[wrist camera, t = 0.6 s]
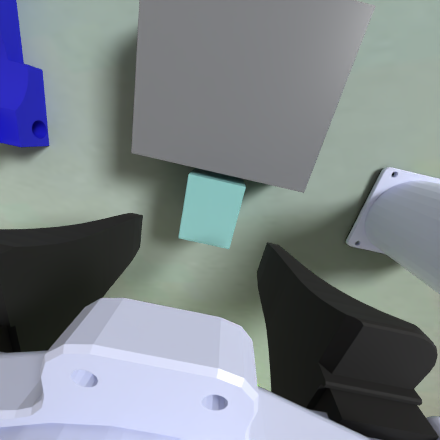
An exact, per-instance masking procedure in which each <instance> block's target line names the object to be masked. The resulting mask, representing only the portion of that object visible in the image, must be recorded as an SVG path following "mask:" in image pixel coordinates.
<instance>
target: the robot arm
mask: <svg viewBox="0 0 440 440" xmlns="http://www.w3.org/2000/svg"><path fill="white" fill-rule="evenodd" d="M393 172H394V175H393V176H391V175H392V173H393ZM142 218H143V215H139V214H134V213H127V214H122V215H118V216H114V217H109V218H105V219H101V220H96V221H91V222H87V223H82V224H76V225H69V226H61V227H52V228H37V229H0V440H440V416H431V417H427V418H426V417H425V416H424V415H423V413H422V412H421V410H420V409H419V407H418V406H417V405H421V404H422V399H421V398H420V397H419V395H418V394H417V393H416V391H415V390H414V388H415V387H416V386H417V385H418V384H419V383H420V382H421V381H422V380H423V379H424V377H425V376H426V375H427V374H428V373H429V372H430V371H431V369H432V368H433V367H434V365H435V363H436V359H437V348H436V346H435V345H434V343H433V342H432V341H431V340H430V339H429V338H428V337H427V336H426V335H425V334H424V333H423V332H422V331H421V330H420V329H419V328H418V327H417V326H416V325H414V324H411V323H409V322H406V321H404V320H401V319H399V318H396V317H394V316H391V315H389V314H386V313H384V312H382V311H379V310H377V309H375V308H373V307H371V306H369V305H366V304H364V303H362V302H360V301H358V300H356V299H354V298H352V297H351V296H349V295H347V294H345V293H343V292H341V291H340V290H338V289H336V288H335V287H333V286H331V285H330V284H328V283H327V282H325V281H324V280H322V279H321V278H319V277H318V276H316V275H315V274H314V273H312V272H311V271H310V270H308V269H307V268H306V267H305V266H303V265H302V264H301V263H300V262H298V261H297V260H296V259H295V258H294V257H293V256H291V255H290V254H289V253H288V252H287V251H285V250H284V249H283V248H282V247H280V246H279V245H276V244H271V243H267V245H266V248H265V250H264V253H263V256H262V259H261V262H260V265H259V268H258V271H257V280H258V289H259V294H260V299H261V304H262V308H263V313H264V318H265V323H266V329H267V338H268V348H269V360H270V374H271V392H270V391H268V390H266V389H264V388H262V387H259V386H258V385H257V377H256V368H255V359H254V350H253V341H252V339H251V338H250V337H249V335H248V334H247V333H246V331H245V330H244V329H243V328H242V326H240V325H238V324H235V323H233V322H231V321H228V320H226V319H224V318H221V317H217V316H212V315H207V314H202V313H197V312H192V311H187V310H183V309H178V308H173V307H168V306H163V305H158V304H153V303H148V302H143V301H138V300H133V299H128V298H103V296H104V295H105V294H106V292H107V291H108V290H109V288H110V287H111V286H112V285H113V284H114V282H115V281H116V280H117V279H118V277H119V276H120V275H121V274H122V273H123V271H124V270H125V269H126V268H127V266H128V265H129V264H130V263H131V261H132V260H133V258H134V257H135V255H136V253H137V252H138V250H139V248H140V242H141V230H142ZM357 241H358V243H356V244H355V242H357ZM346 243H347V244H348V245H349V246H352V247H356V248H361V249H365V250H370V251H374V252H379V253H383V254H386V255H388V256H389V257H390V258H392V259H393V260H394V261H396V262H397V263H398V264H400V265H401V266H402V267H404V268H405V269H406V270H408V271H409V272H411V273H412V274H413V275H415V276H416V277H417V278H419V279H420V280H421V281H423V282H424V283H425V284H427V285H428V286H429V287H431V288H432V289H433V290H435V291H436V292H437V293H439V294H440V179H438V178H434V177H430V176H425V175H421V174H417V173H413V172H409V171H404V170H400V169H396V168H392V167H386V168H384V169H383V170H382V171H381V173H380V175H379V177H378V179H377V181H376V183H375V185H374V187H373V188H372V190H371V192H370V194H369V196H368V198H367V200H366V202H365V204H364V206H363V208H362V210H361V212H360V214H359V216H358V218H357V220H356V222H355V224H354V226H353V228H352V230H351V232H350V234H349V236H348V238H347V240H346Z"/></svg>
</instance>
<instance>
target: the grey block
mask: <svg viewBox="0 0 440 440" xmlns="http://www.w3.org/2000/svg"><path fill="white" fill-rule="evenodd" d="M374 9H375V6H374V5H371V4H367V3H363V2H359V1H356V0H139V19H138V38H137V56H136V75H135V94H134V112H133V131H132V150H131V153H134V154H138V155H142V156H147V157H151V158H155V159H160V160H164V161H168V162H173V163H177V164H181V165H186V166H190V167H195V168H199V169H203V170H208V171H212V172H216V173H221V174H225V175H229V176H234V177H238V178H242V179H247V180H251V181H255V182H260V183H264V184H269V185H273V186H277V187H282V188H286V189H290V190H295V191H299V192H303V193H304V191H305V189H306V186H307V183H308V181H309V178H310V176H311V173H312V170H313V168H314V165H315V163H316V160H317V157H318V155H319V152H320V149H321V147H322V144H323V142H324V139H325V136H326V134H327V131H328V129H329V126H330V123H331V121H332V118H333V116H334V113H335V110H336V108H337V105H338V103H339V100H340V97H341V95H342V92H343V89H344V87H345V84H346V82H347V79H348V76H349V74H350V71H351V69H352V66H353V63H354V61H355V58H356V56H357V53H358V50H359V48H360V45H361V42H362V40H363V37H364V35H365V32H366V29H367V27H368V24H369V22H370V19H371V16H372V14H373V11H374Z"/></svg>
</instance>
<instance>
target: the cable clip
mask: <svg viewBox="0 0 440 440" xmlns="http://www.w3.org/2000/svg"><path fill="white" fill-rule="evenodd" d="M0 143H4V144H9V145H13V146H18V147H35V146H49V138H48V127H47V116H46V105H45V94H44V82H43V71H42V70H41V69H38V68H35V67H32V66H30V65H26V64H24V62H23V54H22V45H21V37H20V28H19V20H18V11H17V3H16V0H0Z"/></svg>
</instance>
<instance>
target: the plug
mask: <svg viewBox="0 0 440 440" xmlns="http://www.w3.org/2000/svg"><path fill="white" fill-rule="evenodd" d="M245 189H246V186H245V183H244V180H243V179H242V178H238V177H234V176H229V175H225V174H221V173H216V172H212V171H208V170H203V169H199V168H195V169H194V170H193V171H192V172H190V173H189V175H188V182H187V188H186V194H185V200H184V207H183V213H182V219H181V225H180V232H179V238H180V239H185V240H189V241H194V242H199V243H203V244H208V245H213V246H217V247H222V248H226V249H229V248H230V244H231V240H232V237H233V233H234V229H235V225H236V222H237V218H238V214H239V211H240V207H241V203H242V200H243V196H244V192H245Z"/></svg>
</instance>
